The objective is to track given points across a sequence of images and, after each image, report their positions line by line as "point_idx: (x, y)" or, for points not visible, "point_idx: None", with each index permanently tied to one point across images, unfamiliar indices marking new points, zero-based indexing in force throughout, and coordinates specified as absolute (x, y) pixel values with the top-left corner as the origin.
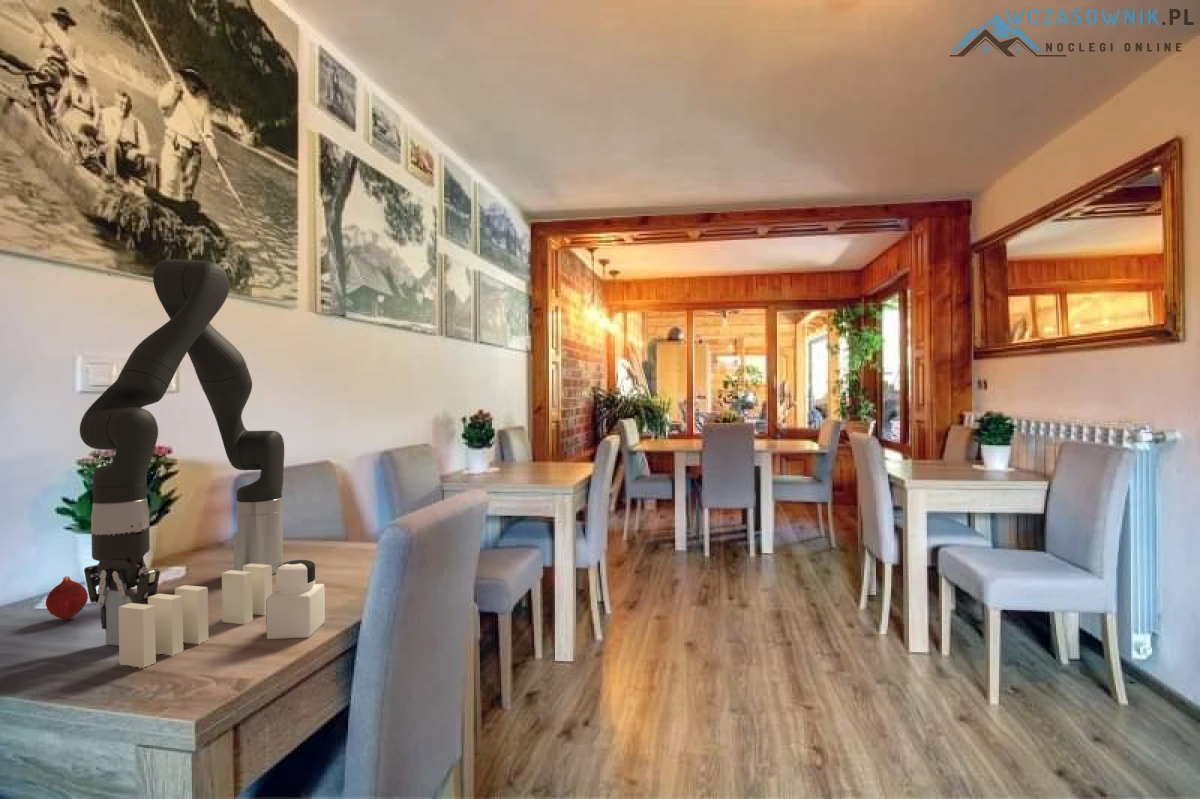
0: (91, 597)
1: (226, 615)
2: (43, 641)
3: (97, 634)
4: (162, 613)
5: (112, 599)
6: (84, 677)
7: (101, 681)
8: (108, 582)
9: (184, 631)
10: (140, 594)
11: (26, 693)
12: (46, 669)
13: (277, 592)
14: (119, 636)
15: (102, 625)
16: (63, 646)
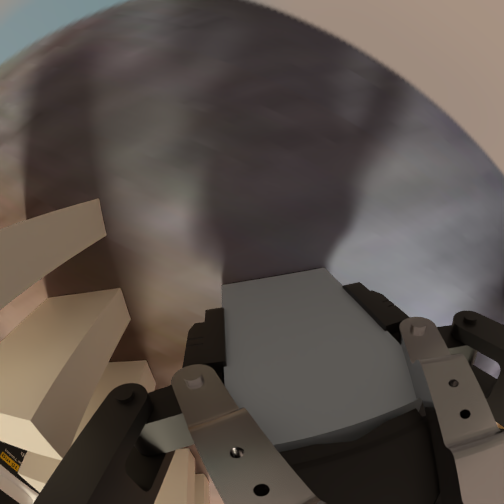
0: (477, 321)
1: (175, 461)
2: (479, 213)
3: (418, 294)
4: (5, 365)
5: (360, 375)
6: (104, 107)
7: (42, 126)
8: (432, 444)
9: (107, 383)
10: (85, 442)
11: (153, 3)
12: (289, 84)
13: (3, 475)
14: (47, 213)
15: (360, 286)
16: (423, 210)
